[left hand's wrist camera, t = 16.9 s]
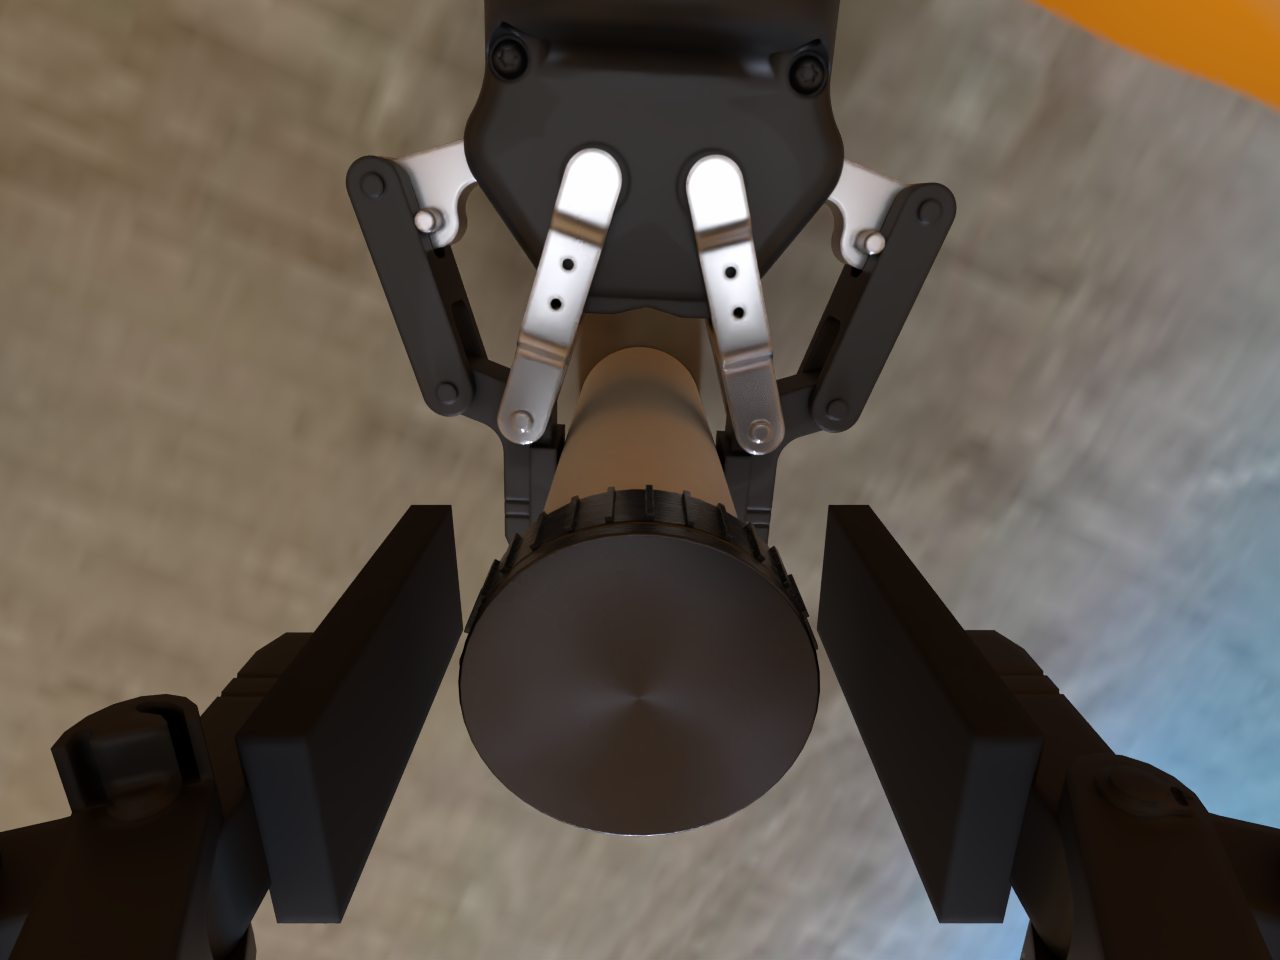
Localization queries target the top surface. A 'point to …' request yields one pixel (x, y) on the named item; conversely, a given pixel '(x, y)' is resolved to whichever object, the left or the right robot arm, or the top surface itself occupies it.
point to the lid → (639, 664)
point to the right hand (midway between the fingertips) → (633, 563)
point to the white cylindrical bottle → (639, 433)
